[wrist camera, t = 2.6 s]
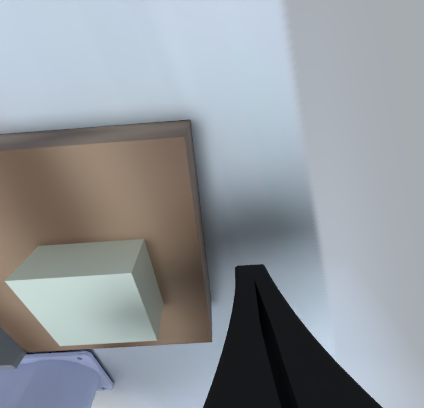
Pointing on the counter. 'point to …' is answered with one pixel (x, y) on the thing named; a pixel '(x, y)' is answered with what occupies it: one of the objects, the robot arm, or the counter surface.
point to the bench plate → (106, 216)
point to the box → (9, 352)
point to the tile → (91, 292)
